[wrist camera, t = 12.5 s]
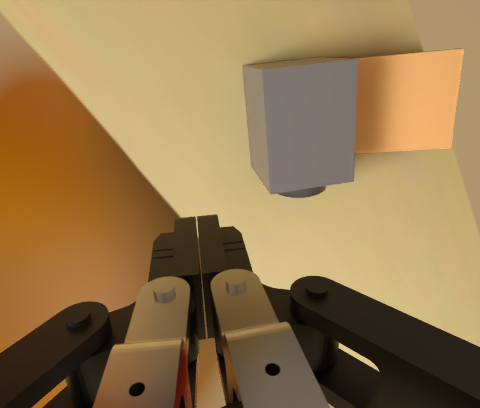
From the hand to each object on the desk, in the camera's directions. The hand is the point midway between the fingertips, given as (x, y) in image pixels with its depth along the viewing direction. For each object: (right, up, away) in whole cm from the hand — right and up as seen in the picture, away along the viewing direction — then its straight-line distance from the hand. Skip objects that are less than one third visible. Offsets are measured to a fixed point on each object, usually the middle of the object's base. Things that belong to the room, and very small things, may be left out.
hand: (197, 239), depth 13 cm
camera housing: (+7, +11, +32) cm, 34 cm away
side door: (+12, +13, +31) cm, 36 cm away
